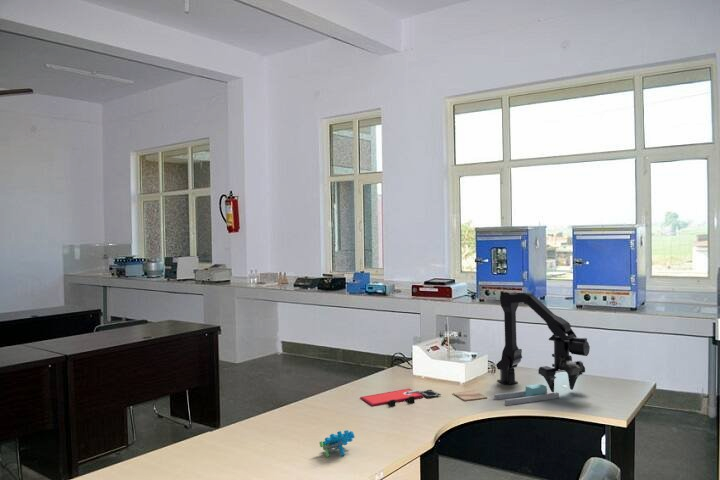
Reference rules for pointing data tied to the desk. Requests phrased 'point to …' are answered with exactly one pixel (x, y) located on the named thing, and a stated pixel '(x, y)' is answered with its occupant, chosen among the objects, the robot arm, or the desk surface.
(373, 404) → the red board with handle
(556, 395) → the channel
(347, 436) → the blue plastic figure
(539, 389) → the teal block
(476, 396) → the walnut pad
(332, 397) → the desk surface
